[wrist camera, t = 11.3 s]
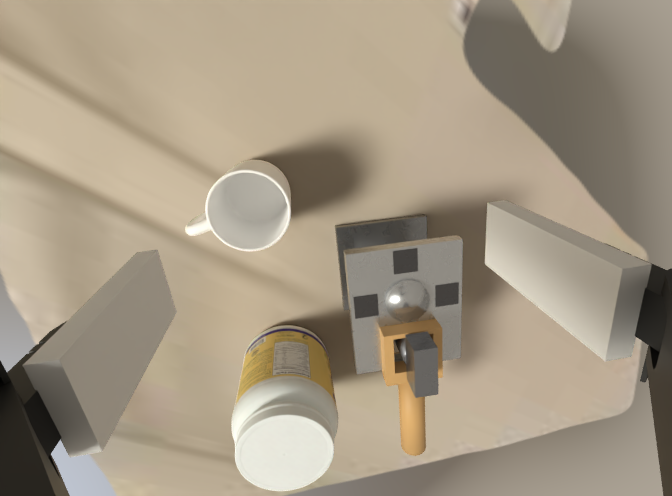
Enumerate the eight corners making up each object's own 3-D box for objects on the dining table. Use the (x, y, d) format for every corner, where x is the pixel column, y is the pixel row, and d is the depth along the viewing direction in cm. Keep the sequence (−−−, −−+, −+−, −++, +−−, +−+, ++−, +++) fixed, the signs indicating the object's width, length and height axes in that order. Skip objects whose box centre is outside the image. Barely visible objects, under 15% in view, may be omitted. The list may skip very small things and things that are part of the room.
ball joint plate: (333, 224, 49) (346, 256, 38) (425, 212, 50) (464, 240, 39) (343, 323, 54) (357, 377, 43) (427, 310, 55) (462, 360, 44)
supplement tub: (323, 393, 58) (335, 497, 42) (241, 391, 56) (223, 499, 40) (333, 323, 54) (351, 409, 38) (246, 318, 52) (227, 406, 36)
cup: (300, 210, 48) (303, 233, 38) (214, 245, 48) (195, 276, 39) (274, 148, 45) (270, 156, 36) (182, 185, 45) (153, 203, 36)
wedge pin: (375, 284, 51) (411, 351, 36) (397, 281, 52) (440, 347, 37) (378, 320, 53) (412, 398, 38) (398, 317, 54) (440, 393, 38)
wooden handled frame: (373, 313, 44) (383, 336, 40) (426, 306, 45) (442, 328, 40) (382, 427, 50) (391, 459, 46) (428, 419, 51) (442, 450, 46)
